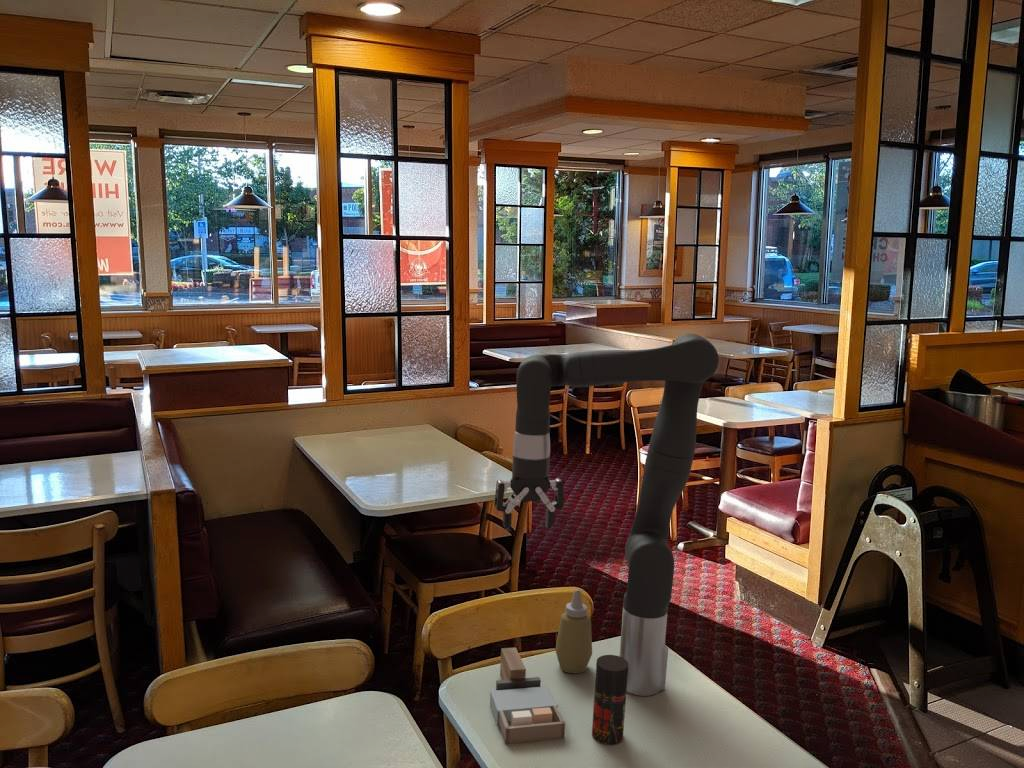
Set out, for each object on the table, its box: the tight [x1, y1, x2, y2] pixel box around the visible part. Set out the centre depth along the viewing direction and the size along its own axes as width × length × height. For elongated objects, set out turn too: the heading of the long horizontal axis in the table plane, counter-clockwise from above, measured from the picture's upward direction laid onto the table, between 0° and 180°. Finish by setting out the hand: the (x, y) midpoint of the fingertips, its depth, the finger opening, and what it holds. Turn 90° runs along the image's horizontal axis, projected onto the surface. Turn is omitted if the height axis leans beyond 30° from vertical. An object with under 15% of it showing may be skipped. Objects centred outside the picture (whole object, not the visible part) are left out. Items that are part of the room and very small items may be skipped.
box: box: [498, 706, 566, 745], centre depth 153 cm, size 11×6×3 cm, turn 103°
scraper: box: [495, 647, 541, 691], centre depth 168 cm, size 9×10×6 cm
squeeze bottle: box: [555, 589, 593, 674], centre depth 176 cm, size 8×8×18 cm
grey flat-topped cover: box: [489, 685, 559, 726], centre depth 159 cm, size 12×7×3 cm, turn 103°
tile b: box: [511, 710, 532, 726], centre depth 152 cm, size 4×4×2 cm
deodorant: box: [591, 654, 628, 746], centre depth 152 cm, size 6×6×15 cm
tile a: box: [532, 707, 552, 724], centre depth 153 cm, size 4×4×2 cm
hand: (528, 528), depth 168 cm, fingers open, 8 cm apart
